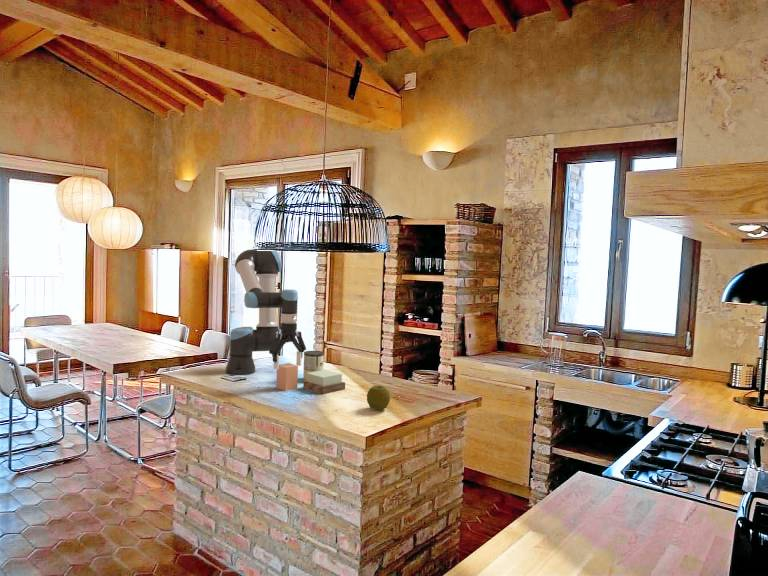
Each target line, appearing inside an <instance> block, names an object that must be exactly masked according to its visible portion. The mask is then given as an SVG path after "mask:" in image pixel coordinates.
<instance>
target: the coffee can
mask: <svg viewBox="0 0 768 576" xmlns="http://www.w3.org/2000/svg"><path fill="white" fill-rule="evenodd" d="M324 362H325V352H324V351H320V350H305V351H304V352H303V374H302V375H303V378H302V379H303V380H302V381H303V382H304V381H306V373H309V372H315V371H321V370H325V369H324V367H325V366H324V364H325V363H324Z"/></svg>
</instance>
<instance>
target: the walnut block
mask: <svg viewBox="0 0 768 576" xmlns="http://www.w3.org/2000/svg"><path fill="white" fill-rule="evenodd" d="M302 387H303V390H307V391H311V392H314V393H318V394H320V395H327V394H330V393H331V394H332V393H334V392H336V393H337V392H340V391H344V390H346V382H345V381H342V382H340V383H336V384H331V385H326V386H321V385H317V384H314V383H310V382H307V381H304V380H303V386H302Z"/></svg>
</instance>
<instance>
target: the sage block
mask: <svg viewBox="0 0 768 576" xmlns="http://www.w3.org/2000/svg"><path fill="white" fill-rule="evenodd" d="M342 380H343V373H339V372H335V371H331V370H327V369H323V370H321V371H315V372H309V373H306V381H307V382H310V383H314V384H317V385H321V386H326V385H331V384H336V383H340V382H343V381H342Z"/></svg>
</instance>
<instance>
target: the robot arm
mask: <svg viewBox="0 0 768 576" xmlns="http://www.w3.org/2000/svg"><path fill="white" fill-rule="evenodd" d="M257 250H258V249H245V250H244V251H242V252H240V254H238V256H237V257H236V259H235V261H234V268H235V271H236V273H238V275H239V277H240V279H241V282H242V284H243V287H244V290H245V294H244V297H243V299H244V300H243V302H244V306H245V308H247V309H258V323H257V325H255V326H256V327H255V329H254V327H252V326H239V327H236V328H233V329H231V330H230V333H229V358H228V360H227V364H226V367H225V373H226V374H229V375H235V376H236V375H240V376H241V375H251V374H254V373H255V372H256V366H255V365H256V364H255V361H254V358H253V353H254V352H268V353H269V354H270V355H272V362H273V369H274V370H277V369H279V365H280V363H279V362H280V355H279V353H280V351H281V350H282V349H283V347H284V345H285V344H286V343H292V344H293V345H294V347H295V348H296V350H297V351H296V360H295V361H296V363H295V365H297V366H298V367H299V366H300V367H301V366H302V359H303V354H304V352H305V351H307V348H306V345H305V342H304V340H303V335H302V331H298V330H297V328H298V327H297V326H298V323H297V322H298V299H299V296H298V290H296V289H289V288H288V289H282V290H281V291H277V292H276V278H277V277H278V276H279V273H280V272H281V271H282V265H283V264H282V258H281V255H280V253H279V252H278V251H277V250H273V251H257ZM276 309H280V322H281V323H280V328H279V324H277V322H276Z"/></svg>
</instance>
